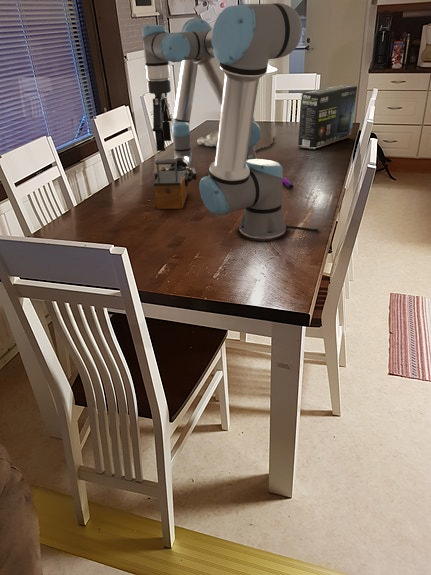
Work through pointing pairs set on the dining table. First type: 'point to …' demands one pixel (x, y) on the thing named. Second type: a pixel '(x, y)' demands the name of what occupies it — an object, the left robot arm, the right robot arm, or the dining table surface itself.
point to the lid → (168, 174)
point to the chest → (171, 196)
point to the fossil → (209, 139)
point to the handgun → (287, 183)
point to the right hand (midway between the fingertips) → (164, 145)
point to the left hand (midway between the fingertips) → (172, 183)
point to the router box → (326, 115)
